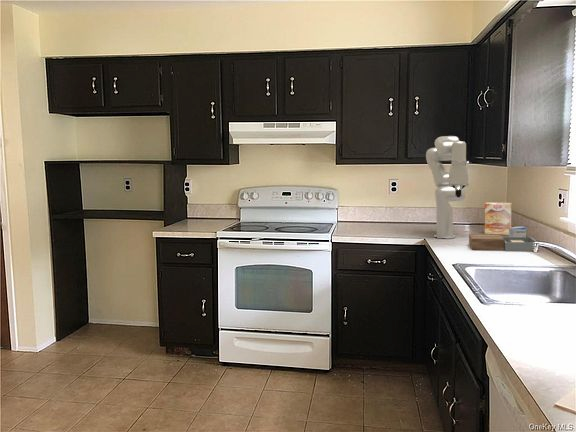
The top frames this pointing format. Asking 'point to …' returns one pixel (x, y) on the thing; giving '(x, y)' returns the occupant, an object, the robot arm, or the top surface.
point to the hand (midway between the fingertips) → (458, 197)
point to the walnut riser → (486, 242)
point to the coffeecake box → (497, 218)
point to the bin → (519, 244)
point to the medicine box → (517, 231)
